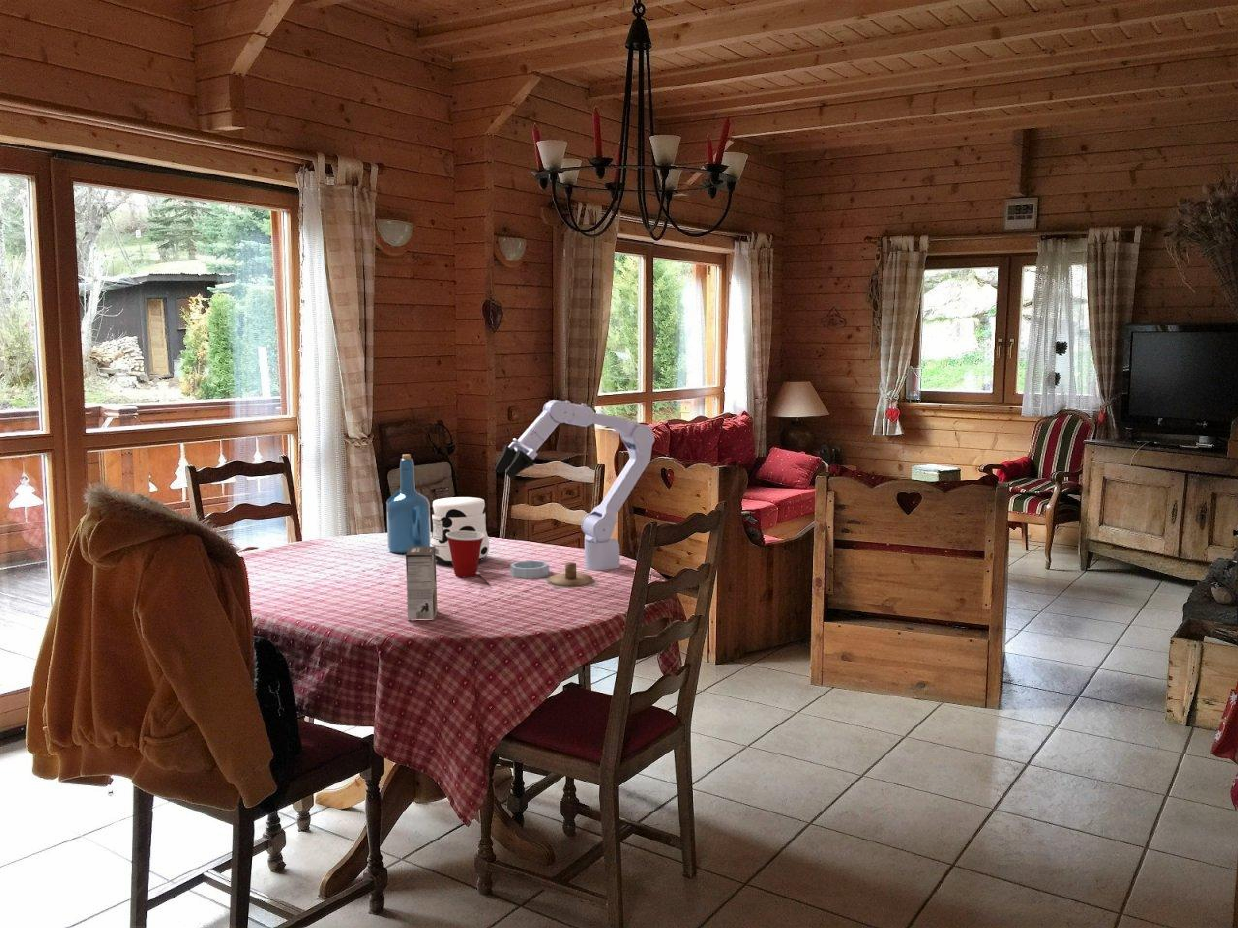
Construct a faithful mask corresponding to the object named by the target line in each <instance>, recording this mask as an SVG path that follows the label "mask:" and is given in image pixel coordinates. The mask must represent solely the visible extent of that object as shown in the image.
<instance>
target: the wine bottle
mask: <svg viewBox="0 0 1238 928" xmlns="http://www.w3.org/2000/svg"><path fill="white" fill-rule="evenodd" d="M401 457H402V458H400V463H399V471H400V487H399V488H400V489H399V490H397V491H396V492H395V493H394V494H393V495H391V496H389V498H387V500H386V501H385V504H386V506H385V507H386V534H387V548H388V550H389V552H392V553H394V554H395V553H396V554H401V555H402V554H405V555H406V554H407V552H408V550H409V547H415V546H425V547H430V542H431V537H432V534H431V503H430V501H429V499H428V498H427V497H426V496H425V495H423V494H421V493H419V492H417V490H416V489H415V488H416V487H415V485H416V484H415V473H414V471H415V468H414V467H415V466H414V460H413V458H412V455H411V454H409V453H408V454H407V453H406V454H402V456H401Z"/></svg>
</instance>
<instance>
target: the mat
mask: <svg viewBox="0 0 1238 928" xmlns="http://www.w3.org/2000/svg"><path fill="white" fill-rule="evenodd" d="M542 578H543V580H544V581H546V582H547V583H548V584H549V585H551V586H552V587H553V588H554V589H565V588H566V589H568V588H569V587H567V586H557V585H553V584H551V583H549V578H550V577H542ZM592 580H593V581H592V582H591V583H590V584H587V585H582V586H581V587H588V586H589V587H590V586H597V585H600V584H599V582H597V581H595V580H594V579H593V578H592ZM575 587H576V588H577V587H580V586H571V587H570V588H575Z"/></svg>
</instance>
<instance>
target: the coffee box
mask: <svg viewBox="0 0 1238 928" xmlns="http://www.w3.org/2000/svg"><path fill="white" fill-rule="evenodd" d="M405 565H406V568H405V569H406V570H405V571H406V595H407V596H406V598H407V599H406V600H407V620H408V619H409V620H410V619H434V620H435V619H436V616H437V613H438V611H439V610H438V587H437V560H436V551H435V547H425V546H415V547H409V550H408V552H407V554H405Z"/></svg>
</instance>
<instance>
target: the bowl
mask: <svg viewBox="0 0 1238 928" xmlns="http://www.w3.org/2000/svg"><path fill="white" fill-rule="evenodd" d="M509 569H510V570H509V571H510V575H511V576H512V577H513V578H517V579H518V578H520V579H535V578H537V579H538V578H544V577H546V576H547V575H550V564H549V563H547V562H546V561H541V560H533V559H531V560H521V561H516V562H513V563H511V564H510V565H509Z"/></svg>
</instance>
